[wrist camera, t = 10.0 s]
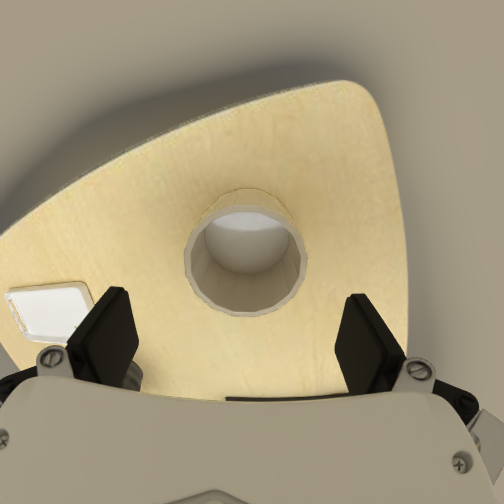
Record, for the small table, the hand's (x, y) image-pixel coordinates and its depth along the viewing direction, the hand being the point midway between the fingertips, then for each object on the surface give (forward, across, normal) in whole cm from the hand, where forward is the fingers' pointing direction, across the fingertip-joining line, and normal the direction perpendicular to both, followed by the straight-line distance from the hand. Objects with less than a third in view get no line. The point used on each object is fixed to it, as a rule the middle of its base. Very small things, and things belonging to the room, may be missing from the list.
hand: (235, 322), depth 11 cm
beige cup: (+11, 0, 0) cm, 11 cm away
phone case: (+12, +22, +10) cm, 27 cm away
